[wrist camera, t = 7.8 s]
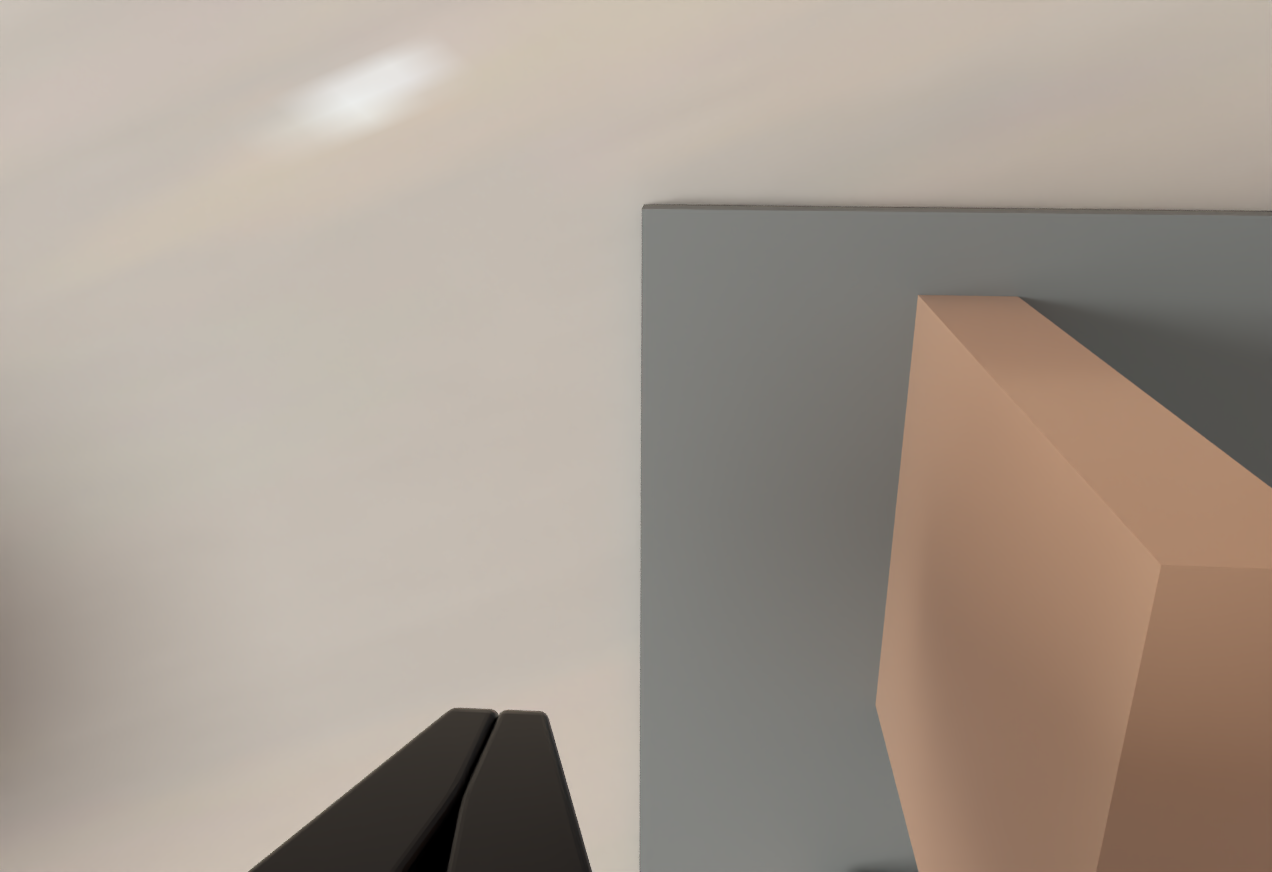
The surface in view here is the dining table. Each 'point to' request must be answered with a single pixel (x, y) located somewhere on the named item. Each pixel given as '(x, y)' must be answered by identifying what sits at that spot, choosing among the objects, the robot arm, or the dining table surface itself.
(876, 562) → the mat
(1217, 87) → the dining table surface
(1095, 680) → the tile
